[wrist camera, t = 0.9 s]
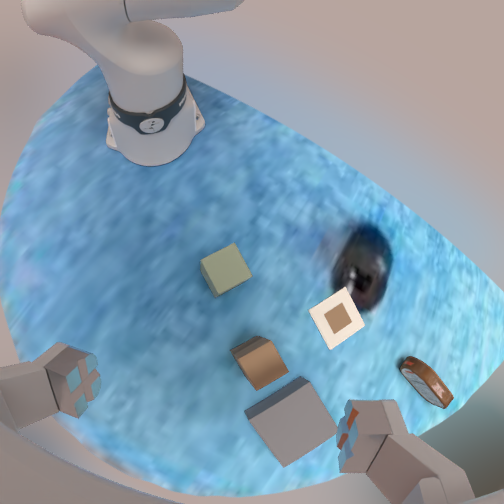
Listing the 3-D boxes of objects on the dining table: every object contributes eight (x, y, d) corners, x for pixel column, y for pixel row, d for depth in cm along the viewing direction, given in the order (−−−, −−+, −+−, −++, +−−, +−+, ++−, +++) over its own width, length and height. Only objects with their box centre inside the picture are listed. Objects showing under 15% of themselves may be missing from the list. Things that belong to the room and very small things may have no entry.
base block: (244, 410, 47) (248, 420, 42) (299, 375, 50) (309, 381, 45) (276, 455, 46) (283, 467, 41) (328, 422, 49) (339, 431, 44)
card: (307, 310, 52) (308, 310, 51) (344, 287, 54) (345, 286, 53) (329, 349, 51) (330, 350, 51) (364, 325, 53) (365, 325, 52)
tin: (435, 394, 53) (461, 401, 45) (426, 406, 52) (452, 414, 44) (399, 353, 53) (427, 356, 45) (390, 365, 52) (417, 371, 44)
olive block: (200, 270, 50) (200, 259, 40) (227, 256, 51) (234, 242, 42) (214, 297, 50) (218, 294, 40) (242, 283, 51) (252, 276, 41)
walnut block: (230, 350, 48) (237, 359, 39) (257, 335, 50) (271, 340, 40) (245, 376, 48) (256, 390, 38) (271, 361, 49) (289, 371, 39)
